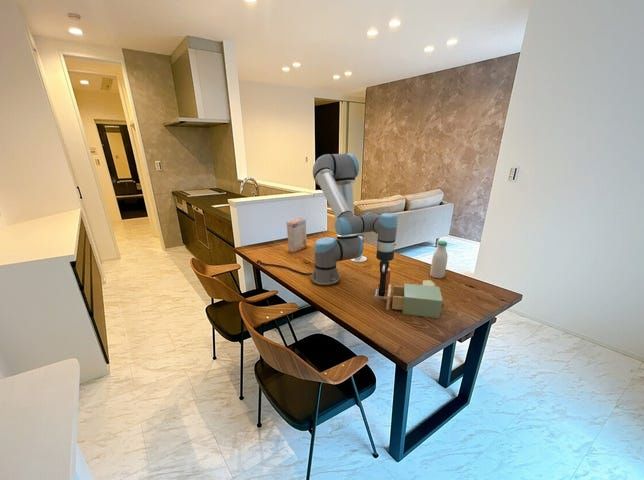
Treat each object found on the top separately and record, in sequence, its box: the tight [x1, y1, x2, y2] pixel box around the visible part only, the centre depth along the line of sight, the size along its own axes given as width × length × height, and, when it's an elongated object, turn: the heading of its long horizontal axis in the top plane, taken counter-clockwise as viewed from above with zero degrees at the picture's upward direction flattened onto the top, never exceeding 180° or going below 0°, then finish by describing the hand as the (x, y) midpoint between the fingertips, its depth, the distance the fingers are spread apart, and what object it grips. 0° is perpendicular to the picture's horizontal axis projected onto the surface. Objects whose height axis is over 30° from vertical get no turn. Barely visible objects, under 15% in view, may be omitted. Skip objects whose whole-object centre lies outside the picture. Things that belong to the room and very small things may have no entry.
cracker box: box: [286, 217, 308, 254], centre depth 205 cm, size 14×6×21 cm, turn 144°
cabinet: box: [401, 282, 444, 319], centre depth 134 cm, size 16×14×9 cm
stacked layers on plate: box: [422, 279, 436, 286], centre depth 147 cm, size 10×9×6 cm
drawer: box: [373, 283, 404, 311], centre depth 136 cm, size 20×12×7 cm, turn 76°
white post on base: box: [349, 233, 368, 263], centre depth 189 cm, size 12×11×15 cm
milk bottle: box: [429, 240, 449, 279], centre depth 163 cm, size 8×8×20 cm
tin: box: [385, 267, 392, 294], centre depth 149 cm, size 5×5×12 cm
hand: (381, 297), depth 138 cm, fingers closed
